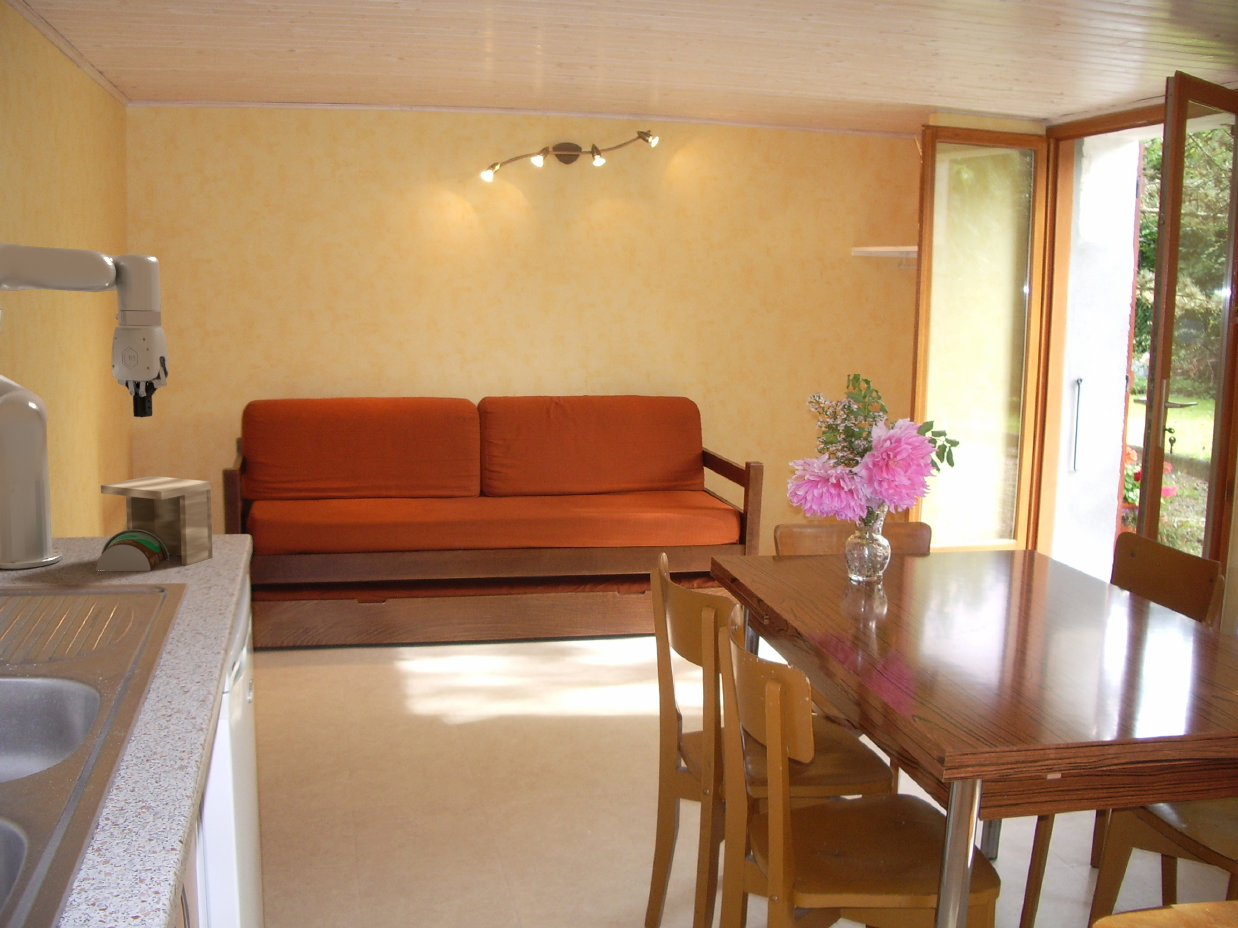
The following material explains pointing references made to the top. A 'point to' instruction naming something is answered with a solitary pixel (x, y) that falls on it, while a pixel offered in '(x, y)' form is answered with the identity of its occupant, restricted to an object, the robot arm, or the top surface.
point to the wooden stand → (170, 513)
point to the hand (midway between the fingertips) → (143, 416)
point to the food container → (132, 552)
